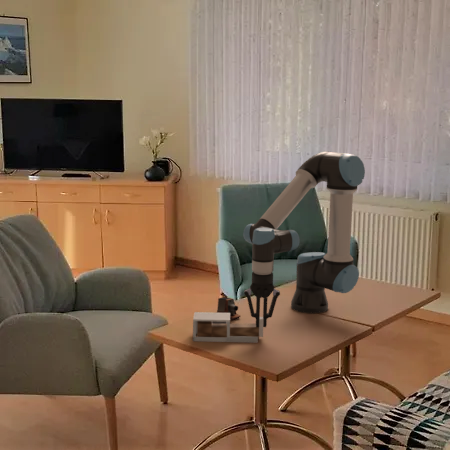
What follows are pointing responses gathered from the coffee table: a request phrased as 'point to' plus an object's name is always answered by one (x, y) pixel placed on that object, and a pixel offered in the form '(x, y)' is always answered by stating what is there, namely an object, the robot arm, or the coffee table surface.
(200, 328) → the block
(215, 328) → the rod
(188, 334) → the coffee table surface
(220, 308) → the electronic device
